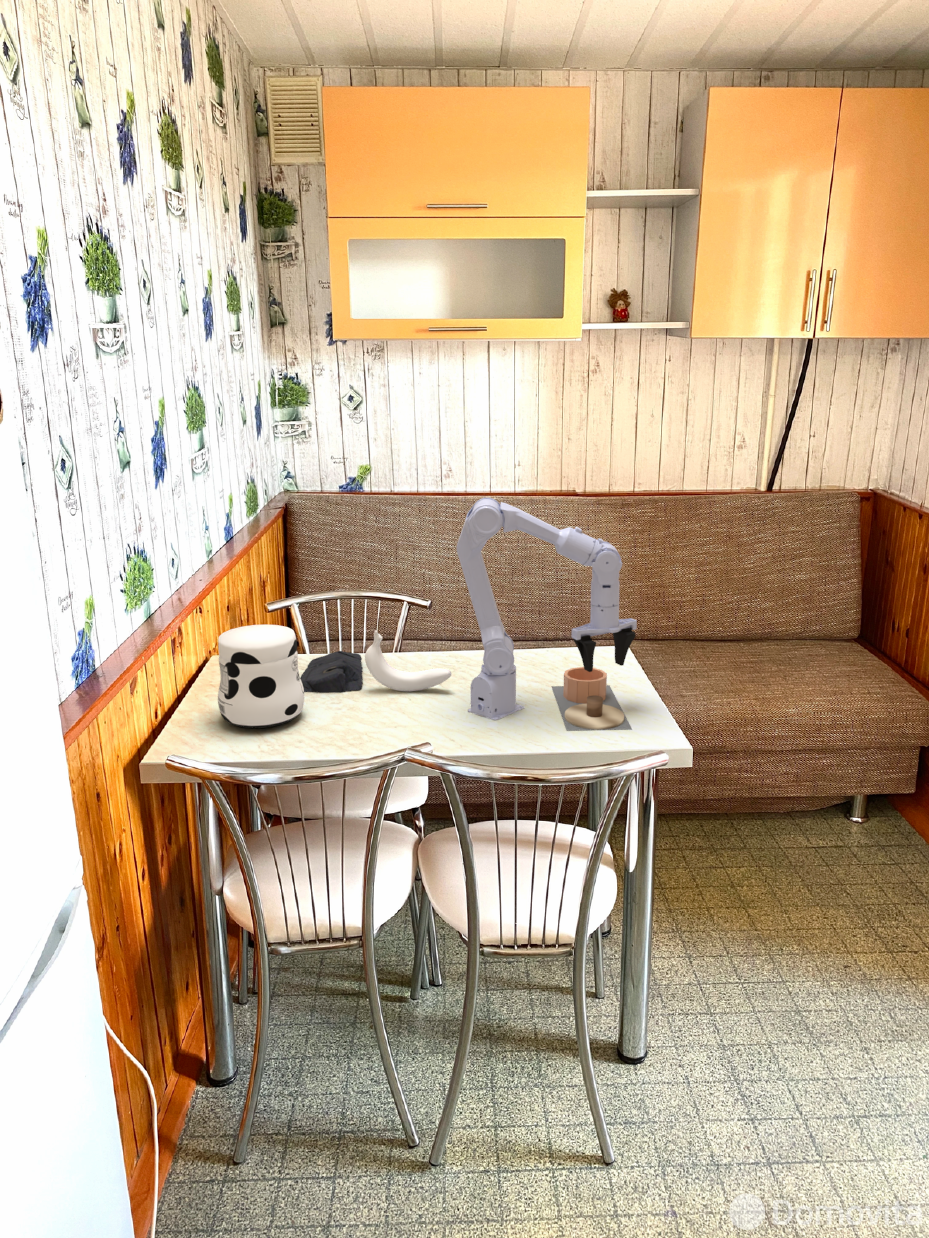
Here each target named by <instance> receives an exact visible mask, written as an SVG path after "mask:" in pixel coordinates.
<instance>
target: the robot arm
mask: <svg viewBox="0 0 929 1238" xmlns="http://www.w3.org/2000/svg"><path fill="white" fill-rule="evenodd" d="M501 528H503V533H510V532H512V531H513V532H514V531H517V530H518V531H521V532H523V533H526V534H527V535H530V536H532V537H535V538H538V539H540V540H543V541H544V542H547V543H549V544H552V545H553V546H554V547H555V552H556V553H557V554H558V555H560V556H562V557H565V558H566V559H569V560H571V561H573V562H575V563H578V564H580V565H582V566H584V567H591V581H590V617H589V618H590V620H589V623H585V624H583V625H579V626H577V627H573V628H571V638H572V640H573V642H574V644H575V645H576V647H577V650H578V652H579V654H580V656H581V661H582V665H583V667H584V669H585V670H586V671H588V672H592V670H593V668H594V655H595V648H596V646H597V642H596V641H594V640H593V639H592V637H593V636H594V637H595V636H601V635H605V634H612V636H613V642H614V662H615V664H617V665H619V666H624V664H625V661H626V657H627V654H628V651H629V648H630V647H631V645H632V643H633V641H634V640H635V638H636V632H635V631H634V630H638V629H637V627H638V626H637V625H638V623H637V621H638V620H636V619H634V618H620V586H621V585H620V580H619V579H620V572H621V569H622V568H623V562H622V558H621V555H620V553H619V551H618V550H617V548H616V547H615V546H614V545H613V544H611V543H610V542H609V541H604V540H603V539H602V538H594V537H592V536H589V535H587V534H586V533H584V532H583V529H582V528H580V527H579V526H575V528H573V527H571V526H569V527H566V528H562V529H559V528H558V527H555V525H554V526H553V525H552V524H550V523H548V522H545V521H544V520H542V519H540V518H537V516H534V515H532V514H530V513H528V512H526V511H524V510H522V509H520V508H518V507H516V506H513V505H511V504H509V503H507V502H503V501H500V502H499V501H497V499H494V498H492V497H482V498H480V499H478V500H477V501H475V503H474V504H473V505H472V507H471V508H470V509H469V510H468V512H467V513H466V517H465V519H464V523H463V525H462V528H461V532H460V535H459V538H458V540H457V543H456V547H455V548H456V553H457V554H456V555H457V557H458V559H459V563H460V567H461V569H462V571H461V572H462V573H463V576H464V577H463V578H464V581H465V584H466V586H467V590H468V594H469V597H470V600H471V604H472V607H473V610H474V613H475V617H476V621H477V624H478V628H479V630H480V635H481V637H480V638H481V642H482V646H483V650H484V652H483V658H482V661H483V662H482V663H483V664H481V669H480V672H479V674H478V675H477V676H475V677H474V678H472V681H471V683H470V708H468V709H467V712H468V713H472V714H474V715H476V716H480V717H483V718H487V719H489V720H492V721H499V720H501V719H502V718H505V717H509V716H510V715H512V714H515V713H517V712H519V711H522V710H523V709H525V706H524V705H522V704H518V703H517V700H516V699H517V666H516V665H515V656H514V650H515V645H514V641H513V639H512V638H511V637H510V636H509V634H508V633H507V632H506V629H505V626H504V624H503V622H502V619H501V616H500V612H499V609H498V605H497V603H496V599H495V595H494V592H493V588H492V585H491V580H490V579H489V575H488V571H487V567H486V564H485V560H484V557H483V553H482V550H483V548H484V547H485V545H486V544H487V542H488V541H489V540H490V539H491V538H493V537H494V536H496V535H497V534H498V533H499V531H500V530H501Z"/></svg>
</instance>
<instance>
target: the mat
mask: <svg viewBox="0 0 929 1238" xmlns="http://www.w3.org/2000/svg"><path fill="white" fill-rule="evenodd" d="M551 689H552V692H553V695H554V698H555V701H556V705H557V707H558V709H559V713H560V715H561V719H562V721H563V724H564V728H565V731H566V732H576V731H577V732H580V731H581V732H583V731H587V732H588V731H589V732H591V731H592V732H593V731H596V730H595V729H585V728H580V727H577V726H574V725H572V724H570V723H568V722H567V721H566V720H565V711H566V710H567V709H568V708H570V707H572V706H575V705H579V704H584V703H575V702H572V701H569V700H567V699H566V698H565V697H564V696H563V691H564V685H556V686H555V685H552V686H551ZM603 704H604V705H609V706H612V707H615V708H617V709H619V710H621V711H622V712H623V714H624V722H623V723H622V724H621V725H619V726H617V727H614V728H610V729H601V730H600V731H633V728H632V726H631V724H630V722H629V720H628V718H627V717H626V714H625V712H624V711H623V709H622V707H621V705H620V703H619V701H618V699H617V697H616V695H615V693H614V691H613V689H612V687H611V685H609V684H607V687H606V698H605V700H603Z"/></svg>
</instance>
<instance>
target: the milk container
mask: <svg viewBox="0 0 929 1238" xmlns="http://www.w3.org/2000/svg"><path fill="white" fill-rule="evenodd" d="M217 646H218V655H219V656H218V664H219V673H220V681H219V687H218V691H217V692H218V693H217V704H218V709H219V712H220V715H221V717H222V719H224V720H225V722H227V723H228V724H230V725H232V726H236V727H239V728H245V729H261V728H262V729H263V728H271V727H272V728H273V727H276V726H280V725H284V724H286V723H289V722H291V721H292V720H294V719H296V718H297V717H298V716H299V715H300V714H301V713H302V712H303V711H302V710H303V709H304V704H305V692H304V688H303V684H302V682H301V679H300V678H301V675H300V673H299V663H298V662H299V660H298V659H299V656H298V654H299V653H298V642H297V637H296V633H295V631H294V629H292V628H290V627H288V626H285V625H284V626H283V625H278V624H252V625H245V626H239V627H236V628H231V629H229V630H226V631H224V632H222V633H221V634H220V635H219V636H218V644H217Z"/></svg>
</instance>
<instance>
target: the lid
mask: <svg viewBox="0 0 929 1238" xmlns="http://www.w3.org/2000/svg"><path fill="white" fill-rule="evenodd" d="M622 711H623V710H622ZM622 711H621V710H619V709H617V708H615V707H612V706H609V705H604V704H603V698H602V697H601V696H596V695H593V696H588V697H587V704H579V705H575V706H572V707H570V708H568V709H567V710H566V711H565V720H566V721H567V722H568V723H570V724H572V725H574V726H577V727H580V728H585V729H595V730H594V731H602V730H601V729H610V728H614V727H617V726H619V725H621V724H622V723H623V722H624V714H625V713H624V714H623V712H624V711H623V712H622Z"/></svg>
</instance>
